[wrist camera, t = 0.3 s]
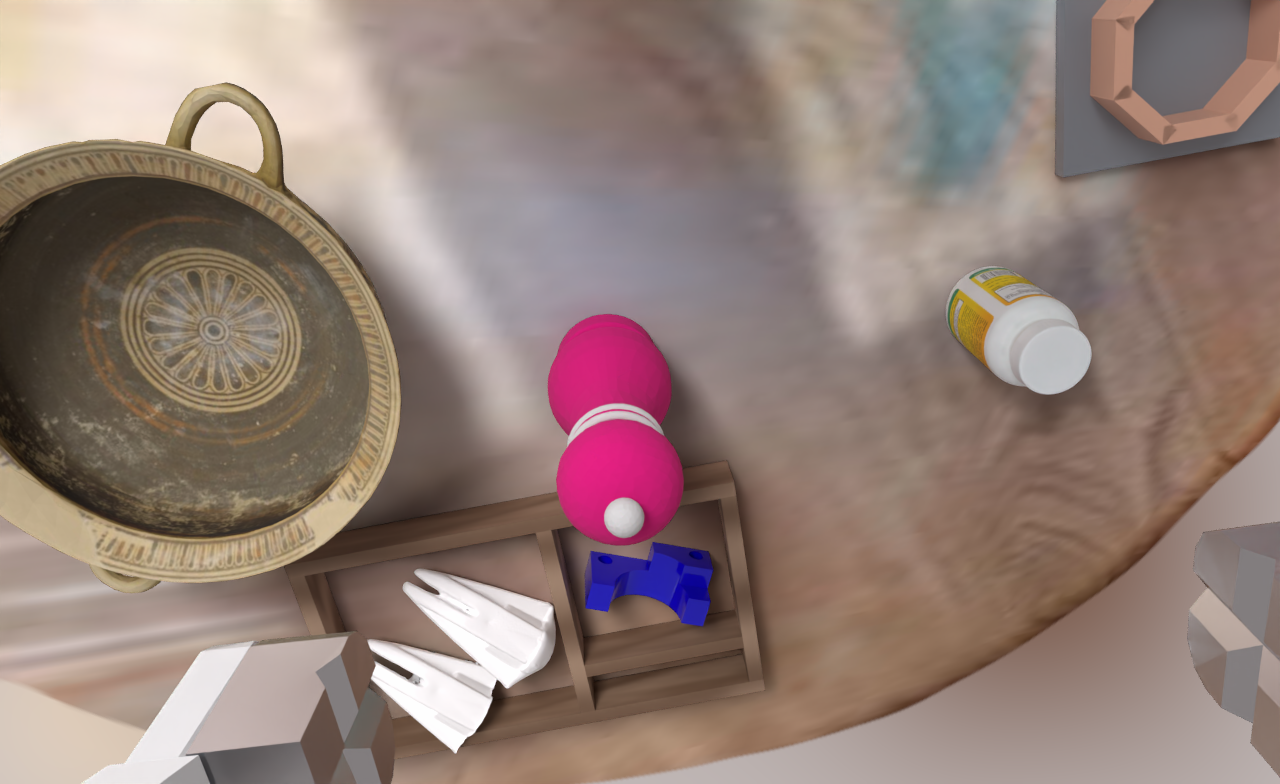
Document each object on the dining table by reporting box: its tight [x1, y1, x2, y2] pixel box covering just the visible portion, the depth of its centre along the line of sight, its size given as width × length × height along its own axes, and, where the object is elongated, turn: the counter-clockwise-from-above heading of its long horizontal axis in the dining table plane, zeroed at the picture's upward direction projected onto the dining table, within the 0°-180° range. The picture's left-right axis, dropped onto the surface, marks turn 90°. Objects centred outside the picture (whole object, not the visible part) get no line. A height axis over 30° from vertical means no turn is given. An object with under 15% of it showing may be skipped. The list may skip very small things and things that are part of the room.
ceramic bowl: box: [0, 83, 401, 593], centre depth 52 cm, size 30×24×10 cm
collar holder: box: [1055, 0, 1280, 177], centre depth 52 cm, size 13×13×4 cm
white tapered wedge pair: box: [367, 568, 556, 754], centre depth 64 cm, size 12×4×11 cm
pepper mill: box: [548, 314, 684, 545], centre depth 50 cm, size 7×7×20 cm
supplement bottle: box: [946, 266, 1092, 395], centre depth 55 cm, size 5×5×10 cm
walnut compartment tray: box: [284, 460, 765, 759], centre depth 64 cm, size 17×29×3 cm, turn 100°
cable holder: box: [585, 542, 713, 626], centre depth 63 cm, size 8×4×4 cm, turn 76°
